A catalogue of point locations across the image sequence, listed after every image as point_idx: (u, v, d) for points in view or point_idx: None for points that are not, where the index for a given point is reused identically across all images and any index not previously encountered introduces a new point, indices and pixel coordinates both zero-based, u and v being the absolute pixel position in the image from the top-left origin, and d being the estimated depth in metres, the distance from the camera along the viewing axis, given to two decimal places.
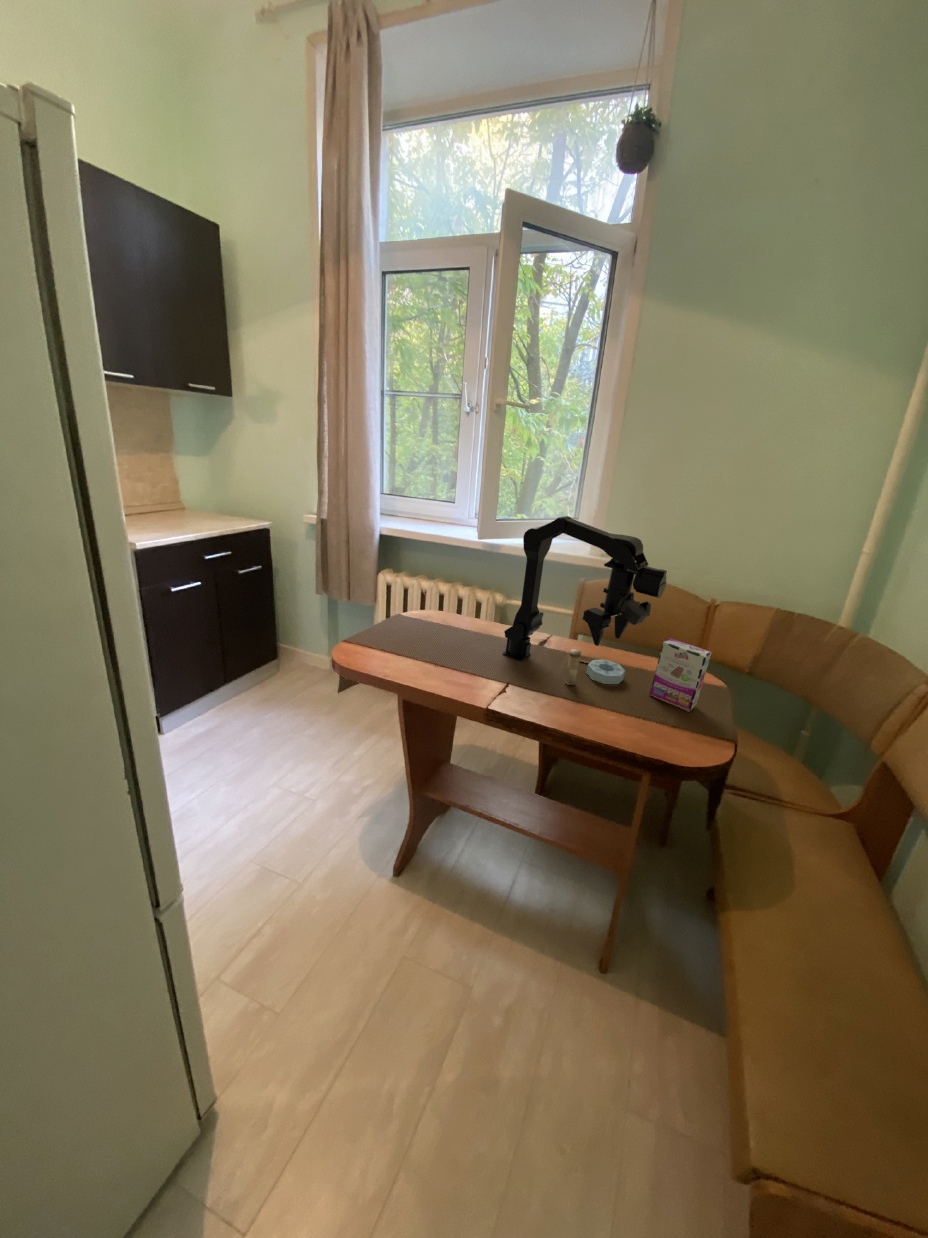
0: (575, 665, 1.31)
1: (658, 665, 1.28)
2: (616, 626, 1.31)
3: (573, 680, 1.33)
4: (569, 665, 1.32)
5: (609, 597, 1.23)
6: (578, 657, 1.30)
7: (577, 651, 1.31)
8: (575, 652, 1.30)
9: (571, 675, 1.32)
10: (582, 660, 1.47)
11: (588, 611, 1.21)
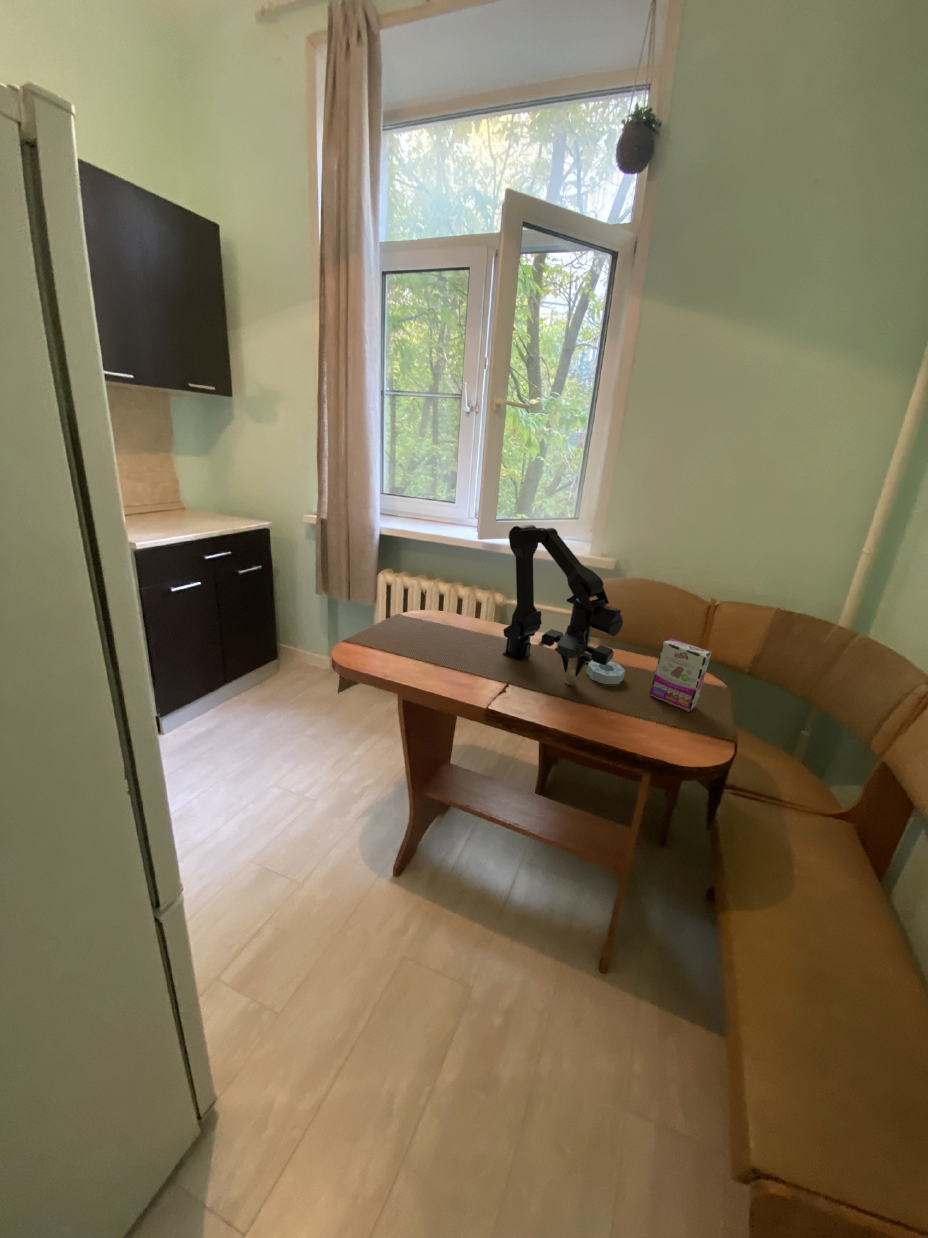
0: (575, 665, 1.31)
1: (658, 665, 1.28)
2: None
3: (573, 680, 1.33)
4: (569, 665, 1.32)
5: None
6: (578, 657, 1.30)
7: None
8: None
9: (571, 675, 1.32)
10: None
11: (549, 630, 1.35)
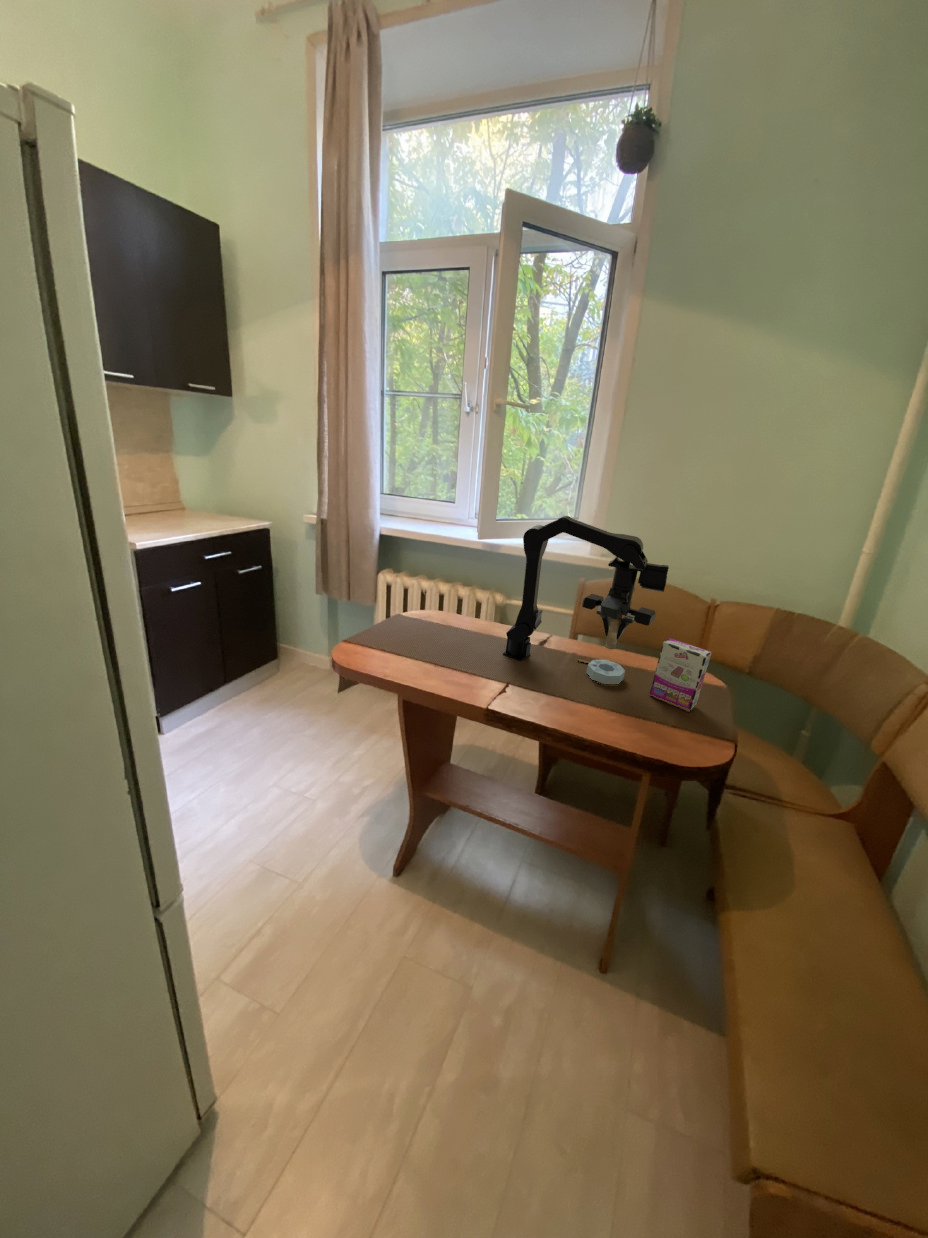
0: (617, 628, 1.32)
1: (658, 665, 1.28)
2: None
3: (614, 643, 1.34)
4: (610, 628, 1.33)
5: None
6: (620, 620, 1.31)
7: None
8: None
9: (612, 638, 1.33)
10: (582, 660, 1.47)
11: None
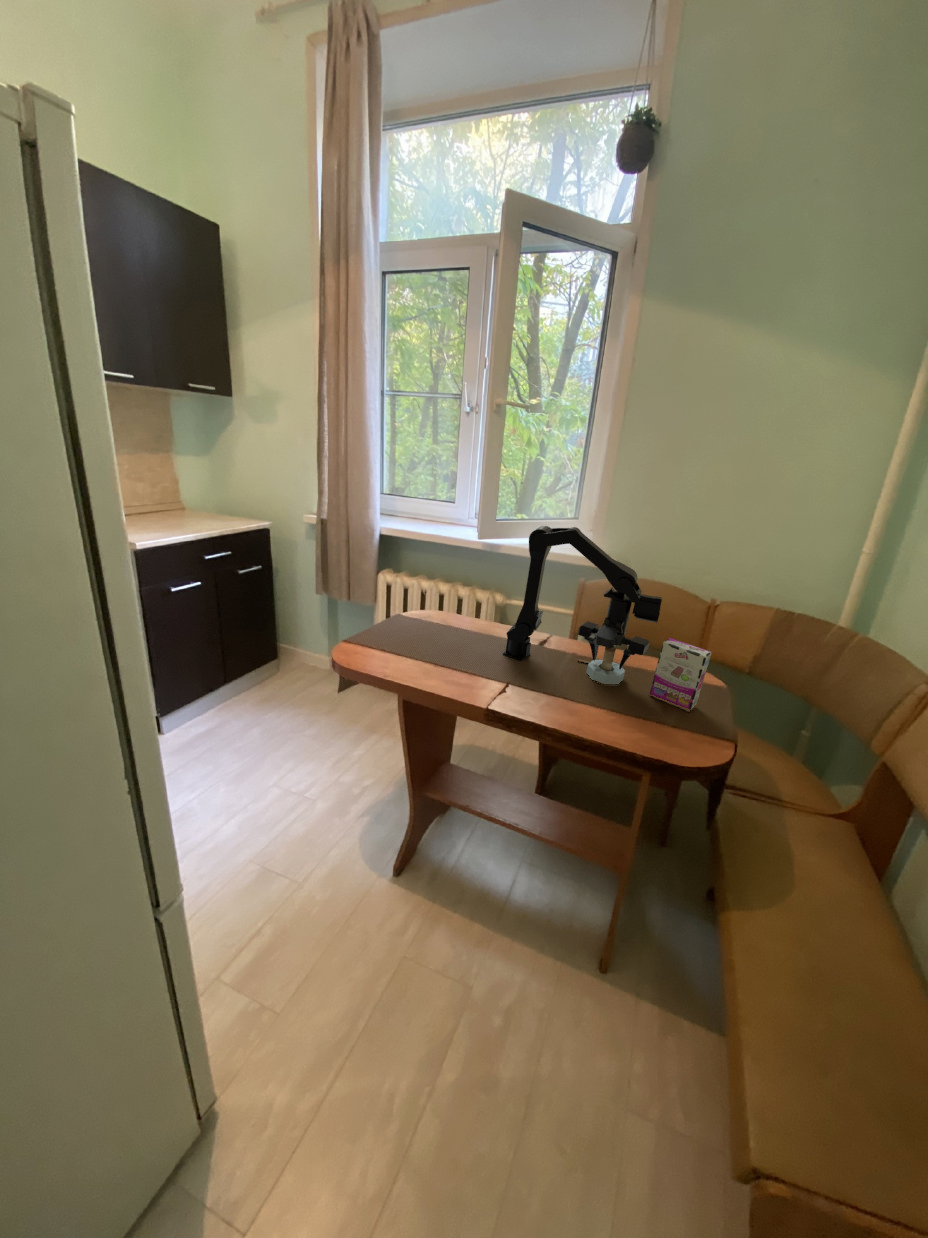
0: (611, 659, 1.36)
1: (658, 665, 1.28)
2: None
3: None
4: (604, 659, 1.37)
5: None
6: (613, 651, 1.35)
7: None
8: None
9: (606, 668, 1.37)
10: (582, 660, 1.47)
11: (585, 622, 1.40)
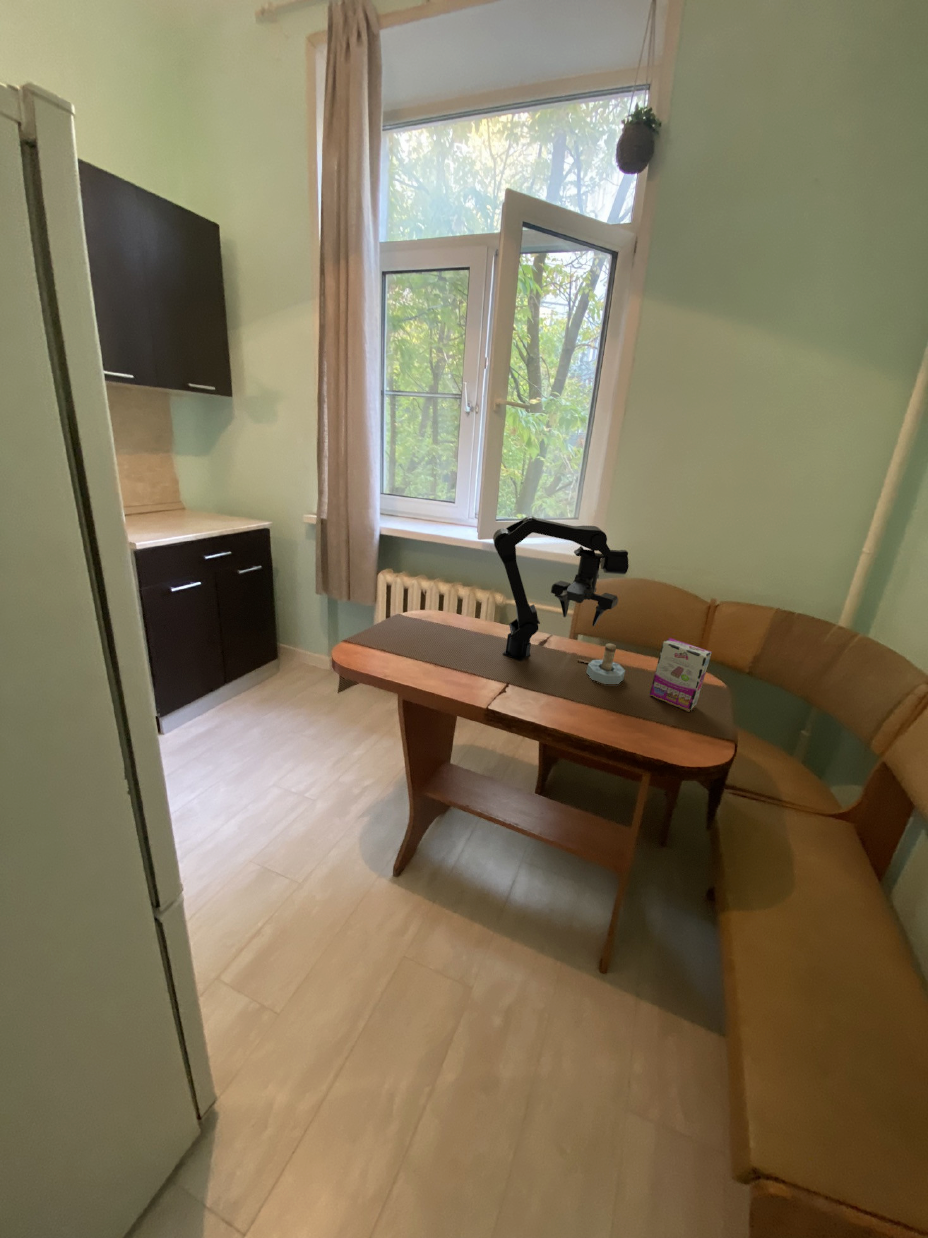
0: (611, 659, 1.36)
1: (658, 665, 1.28)
2: None
3: None
4: (604, 659, 1.37)
5: None
6: (613, 651, 1.35)
7: (612, 645, 1.36)
8: (610, 646, 1.35)
9: (606, 668, 1.37)
10: (582, 660, 1.47)
11: None
